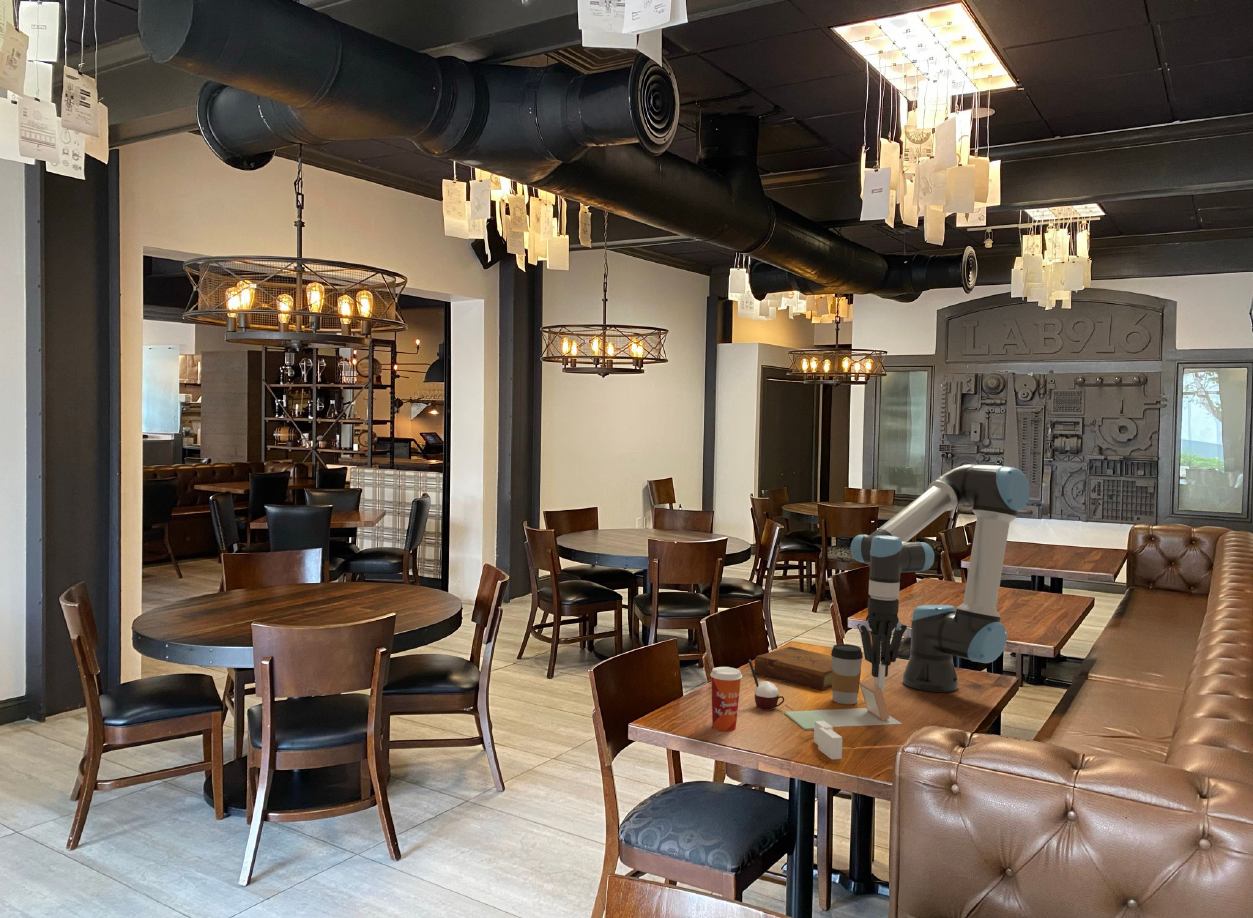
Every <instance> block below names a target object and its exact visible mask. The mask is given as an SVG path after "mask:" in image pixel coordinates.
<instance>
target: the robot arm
mask: <svg viewBox="0 0 1253 918" xmlns="http://www.w3.org/2000/svg"><path fill="white" fill-rule="evenodd" d="M1030 491H1031V490H1030V484H1029V480H1028V479H1027V476H1026V475H1025V473H1024V472H1023V471H1022V470H1020V469H1018V468H1017V467H1013V466H1012V467H1011V466H1007V465H1005V466H1004V465H990V464H989V465H988V464H987V465H986V464H976V463H975V464H974V463H969V464H964V465H960V466H957V467H955V468H953V469H951V470H949V471H947V472H945V473H943V474H942V475H940V476H938V477H937V478H935V479H934V480H933V481H932V482H930V483H929V484H928V487H927V490H926V491H924V493H922V494H921V495H919V496H918V497H916V499H914V500H913V501H912V502H911V503H909V504H908V505H906V506H905V507H904V508H903V509H902V510H900V511H899V512H898V513H896V514H895V515H894V516H892V517H891V518H890V519H889V520H887V521H886V522H885V523H884V524H883V525H880V527H879V528H877V529H876V530H874V531H873V532H872V533H870V534H869V535H868V534H858V535H855V537H854V538H853V539H852V541H851V543H850V554H851V557H852V558H853V559H854V560H855V561H857V562H859V563H863V564H866V565H869V579H868V595H869V597H868V598H867V615H866V618H865V621H864V622H862V623H858V624H857V625H856V627H857V629H858V631H859V633H860V639H861V643H862V644H861V645H862V649H863V650H862V651H863V655H864V656H863V657H864V660H865V661H867V662H869V663H870V664H871V676H872V677H873V684H874V685H876V686H877V687H879V688H881V690H882V692H885V682H886V678H887V677H888V676H889V666H891V664H892V663H895V662H896V660H897V657H898V653H899V650H900V646H901V643H902V639H903V635H904V633H905V631H906V630H907V629H908V626H907V625H906V624H904V623H902V622H900V619H899V617H898V613H899V605H900V604H899V599H898V598H899V597H900V586H901V585H900V584H901V583H900V582H901V581H900V580H901V574H902V573H913V572H914V573H915V572H917V573H919V572H923V571H927V570H929V569H930V568H931V567H932V566H933V565H934V562H935V552H934V550H933V548H932V546H931V545H930V544H928V543H927V542H924V541H923V542H922V541H921V542H920V541H915V542H914V541H913V542H912V541H911V542H910V540H911V539H912V538H914V537H915V536H916V535H918V533H920V532H921V531H922V530H923V529H925V528H926V527H927V526H928V525H930V524H931V523H932V522H933V521H935V520H936V519H937V518H939V516H941V515H942V514H943V513H945V512H948V511H953V510H954V509H956V507H959V506H964V505H965V506H966V505H970V506H972V509H971V511H972V513H973V514H974V515H975V517H976V521H975V528H974V535H973V539H972V540H973V541H972V546H971V553H970V559H969V565H968V571H967V578H966V585H965V591H964V596H963V602H962V603H961V604H960V605H958V606H956V608H955V606H953V605H947V604H925V605H918V606H916V607H914V609H913V610H912V615H911V616H912V617H911V620H910V621H911V628H910V629H911V632H910V634H911V635H910V653H909V654H910V656H909V658H908V661H907V663H906V666H905V669H904V671H903V673H902V683H903V684H904V685H905V686H907V687H909V688H912V689H915V690H919V691H924V692H931V693H932V692H933V693H950V692H953V691H954V692H955V691H956V690H958V687H959V680H958V676H957V672H956V668H955V666H954V665H955V663H954V660H953V657H959V658H963V659H965V660H970V661H971V662H975V663H976V662H977V663H983V664H990V663H992V662H994V661H996V660H997V659H998V657H1000V656H1001V655H1002V654H1003V651H1004V650H1005V647H1006V645H1007V640H1008V632H1007V629H1006V626H1005V625H1004V624H1003V623H1001V617H1002V616H1001V614H1000V612H998V610H997V605H998V598H999V592H1000V585H1001V579H1002V574H1003V573H1002V572H1003V568H1004V567H1003V566H1004V562H1005V561H1004V560H1005V553H1006V547H1007V541H1008V535H1009V529H1010V525H1011V522H1012V521H1014V520H1015V519H1017V516H1018V512H1019V511H1022V510H1024V509H1025V508H1026V507H1027V505H1028V503H1029V501H1030V493H1031V492H1030ZM870 629H871V636H872V639H871V636H870V633H869V630H870Z"/></svg>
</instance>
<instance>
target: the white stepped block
mask: <svg viewBox="0 0 1253 918" xmlns="http://www.w3.org/2000/svg"><path fill="white" fill-rule="evenodd" d="M813 743H815V744H816V745H817V749H818V750H819V751H820V752H821V753H823V754H824V755H826V756H827V757H828V759H830V760H842V756H843V755H842V754H843V736H841V735H840V734H838V733H837V732H836V731H835V730H834V727H832V726H831V725H829V724H828V723H826V722H825V721H815V727H814V730H813Z"/></svg>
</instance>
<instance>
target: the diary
mask: <svg viewBox="0 0 1253 918" xmlns="http://www.w3.org/2000/svg"><path fill="white" fill-rule="evenodd" d="M753 668H754V671H755V673H756V675H759V676H763V675H764V676H763V677H766V678H771V679H776V680H780V681H784V682H786V683H787V682H788V683H791V684H794V685H800V686H803V687H807V688H811V689H813V690H814V689H815V690H818V691H826V690H829V689H832V656H831V655H828V654H824V653H820V652H814V651H811V650H806V649H802V648H798V647H793V646H788V647H785V648H781V649H777V650H774V651H770V652H766V653H763V654H759V655H756V657H755V658H754V667H753Z"/></svg>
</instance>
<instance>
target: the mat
mask: <svg viewBox="0 0 1253 918" xmlns="http://www.w3.org/2000/svg"><path fill="white" fill-rule="evenodd" d="M783 714H784V715H786V716H787V717H788V718H789V719H791V720H792V721H793V722H794V723H795V724H797V726H799V727H800V728H802V729H803V730H804V731H814V727H815V721H825V722H826V723H828V724H829V725H831V726H832V727H833V728H838V727H839V728H842V727H859V726H860V727H861V726H863V727H865V726H866V727H867V726H883V725H884V726H886V725H903V723H902V722H900V721H899V720H897V719H896V718H894V717H893V716H891V715H889V719H887V720H884V721H882V720H880V719H879V718H877V717H876V716H874V715H873V714H871V713H870V712H868V711H867V707H864V708H863V707H862V708H860V707H859V708H858V707H857V708H840V709H839V708H838V709H834V708H832V709H815V710H792V711H784V712H783Z"/></svg>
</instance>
